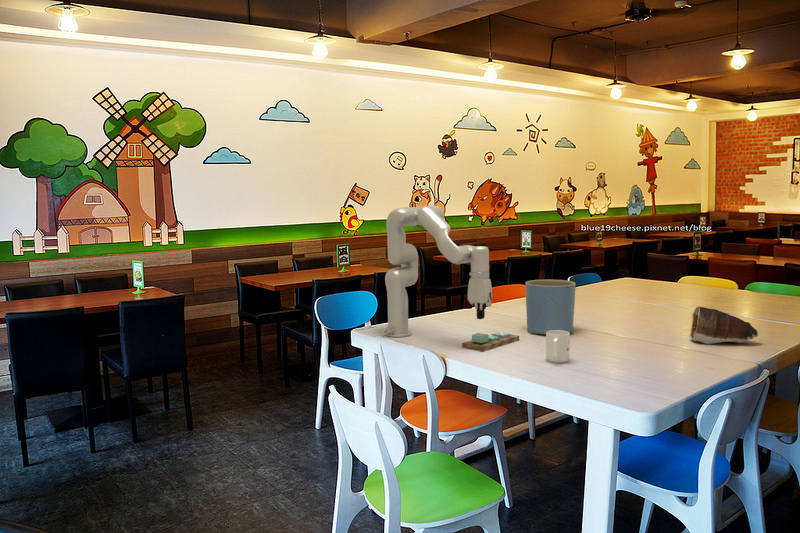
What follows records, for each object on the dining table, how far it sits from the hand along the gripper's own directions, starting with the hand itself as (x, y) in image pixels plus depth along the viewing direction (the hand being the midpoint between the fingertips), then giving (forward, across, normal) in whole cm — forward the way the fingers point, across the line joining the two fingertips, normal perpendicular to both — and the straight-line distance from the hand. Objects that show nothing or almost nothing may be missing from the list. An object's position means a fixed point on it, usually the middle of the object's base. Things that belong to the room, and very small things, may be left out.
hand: (480, 318), depth 255 cm
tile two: (+12, 0, +8) cm, 15 cm away
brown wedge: (+14, +74, +73) cm, 105 cm away
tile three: (+12, 0, +16) cm, 20 cm away
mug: (+13, +36, +1) cm, 38 cm away
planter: (+13, +7, +45) cm, 47 cm away
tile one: (+10, 0, 0) cm, 10 cm away
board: (+12, 0, +8) cm, 15 cm away
